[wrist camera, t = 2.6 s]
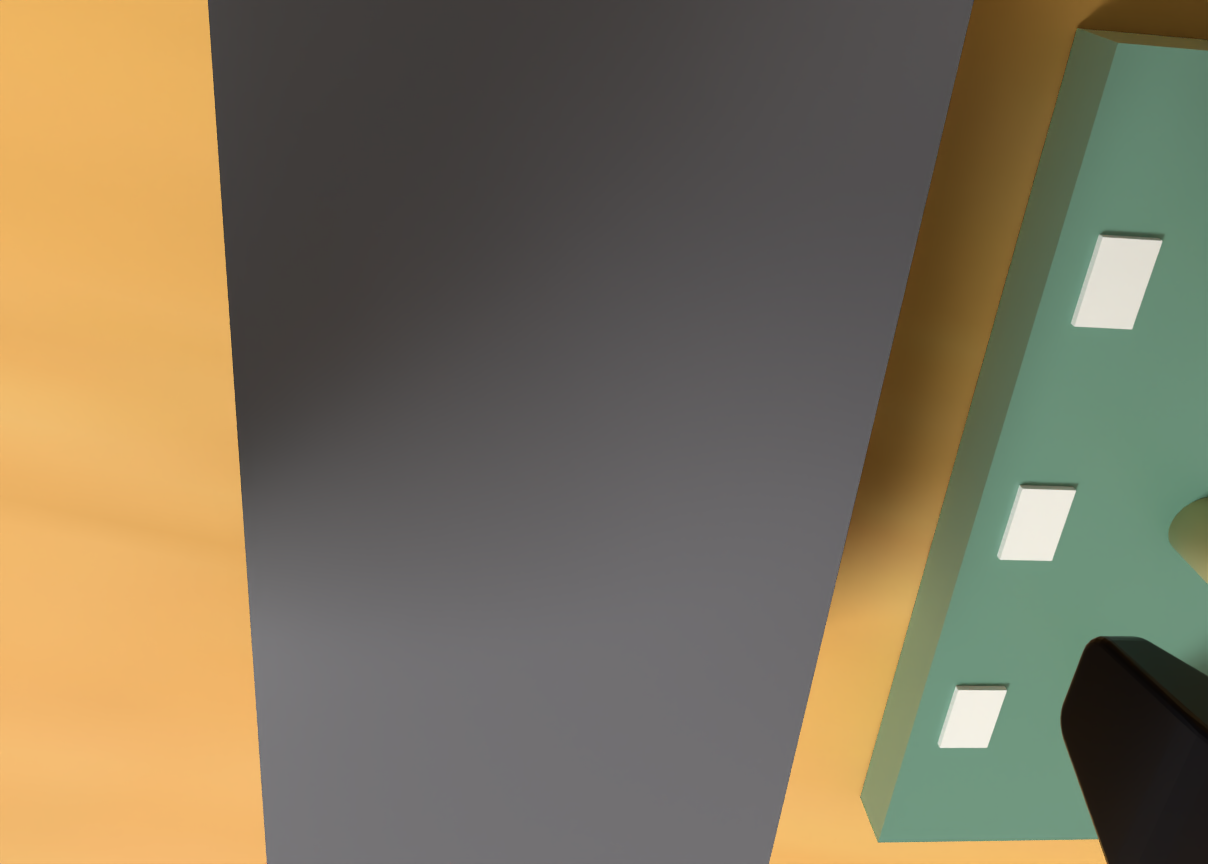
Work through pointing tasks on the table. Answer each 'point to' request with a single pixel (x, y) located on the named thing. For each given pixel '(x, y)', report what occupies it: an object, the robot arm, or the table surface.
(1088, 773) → the robot arm
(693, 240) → the block
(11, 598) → the table surface
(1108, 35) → the strip
